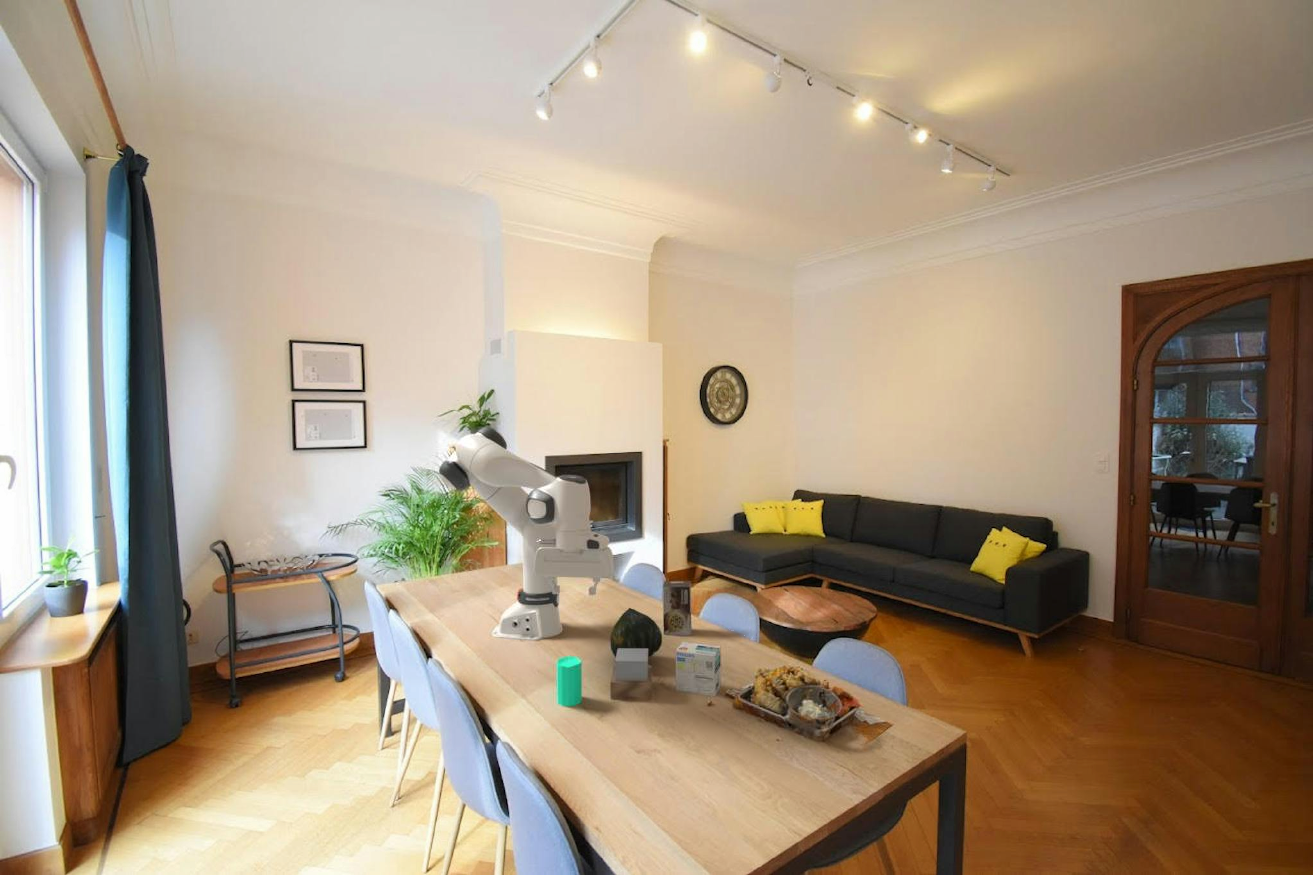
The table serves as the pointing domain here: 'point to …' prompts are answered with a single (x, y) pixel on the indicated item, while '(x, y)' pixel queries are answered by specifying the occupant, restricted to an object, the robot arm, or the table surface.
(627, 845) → the table surface
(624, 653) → the tower top block
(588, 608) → the table surface
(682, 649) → the light bulb box
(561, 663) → the candle
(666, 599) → the coffee box
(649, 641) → the squash
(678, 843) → the table surface
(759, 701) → the food tray
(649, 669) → the tower base block
